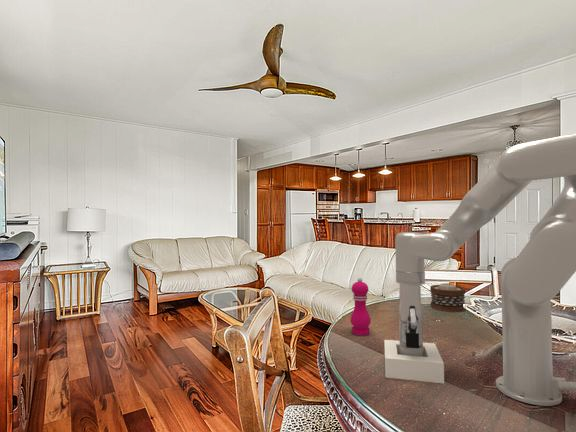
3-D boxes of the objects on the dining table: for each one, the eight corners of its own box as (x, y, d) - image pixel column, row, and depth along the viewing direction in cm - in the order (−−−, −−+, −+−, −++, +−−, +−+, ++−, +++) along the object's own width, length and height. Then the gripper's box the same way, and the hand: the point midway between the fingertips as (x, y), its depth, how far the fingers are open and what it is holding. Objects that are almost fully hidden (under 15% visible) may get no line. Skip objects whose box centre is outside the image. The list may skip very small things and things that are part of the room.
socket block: (435, 360, 97) (434, 343, 97) (444, 383, 84) (443, 363, 84) (384, 356, 101) (384, 339, 101) (385, 377, 87) (385, 358, 87)
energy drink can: (425, 364, 89) (424, 307, 89) (401, 363, 90) (401, 306, 90) (420, 355, 95) (419, 302, 95) (398, 354, 96) (397, 301, 96)
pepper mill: (371, 336, 118) (370, 279, 118) (350, 335, 119) (349, 279, 120) (370, 330, 125) (369, 276, 125) (350, 329, 127) (349, 275, 127)
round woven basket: (473, 286, 148) (442, 288, 146) (474, 311, 148) (443, 313, 146) (451, 280, 163) (423, 282, 160) (452, 303, 163) (423, 305, 160)
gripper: (394, 272, 102) (395, 331, 102) (397, 282, 85) (398, 354, 85) (420, 272, 100) (421, 333, 100) (429, 283, 83) (430, 356, 83)
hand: (411, 342), depth 92 cm, fingers closed on energy drink can, 6 cm apart
